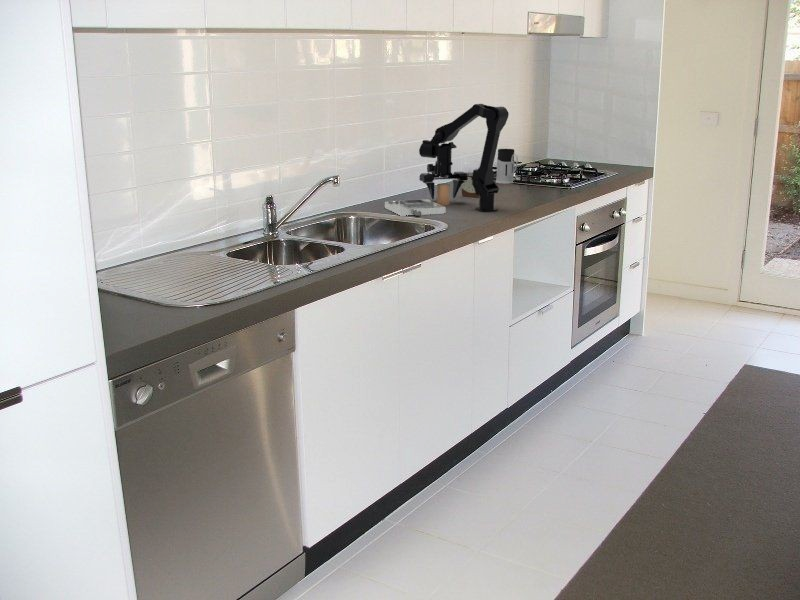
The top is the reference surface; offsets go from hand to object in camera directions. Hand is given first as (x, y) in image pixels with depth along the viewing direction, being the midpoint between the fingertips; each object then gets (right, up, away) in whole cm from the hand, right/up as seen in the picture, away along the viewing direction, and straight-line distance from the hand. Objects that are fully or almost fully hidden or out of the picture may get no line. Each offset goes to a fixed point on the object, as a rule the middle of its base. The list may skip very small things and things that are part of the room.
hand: (443, 198), depth 352 cm
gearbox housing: (-11, -7, -15) cm, 20 cm away
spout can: (0, -2, +1) cm, 2 cm away
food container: (+14, +2, +17) cm, 22 cm away
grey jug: (+33, +13, +55) cm, 65 cm away
